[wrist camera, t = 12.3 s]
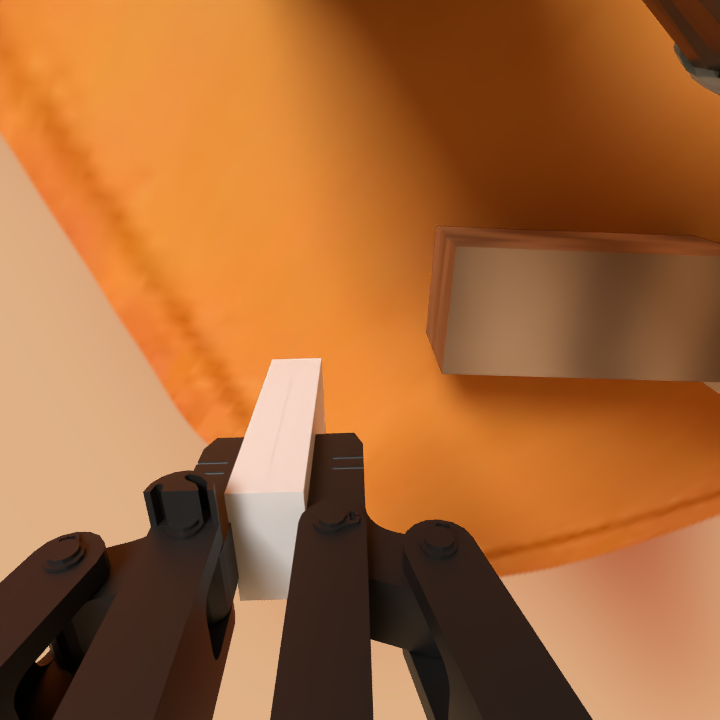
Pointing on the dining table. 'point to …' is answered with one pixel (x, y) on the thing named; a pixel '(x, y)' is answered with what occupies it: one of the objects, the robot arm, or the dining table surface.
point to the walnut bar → (575, 304)
